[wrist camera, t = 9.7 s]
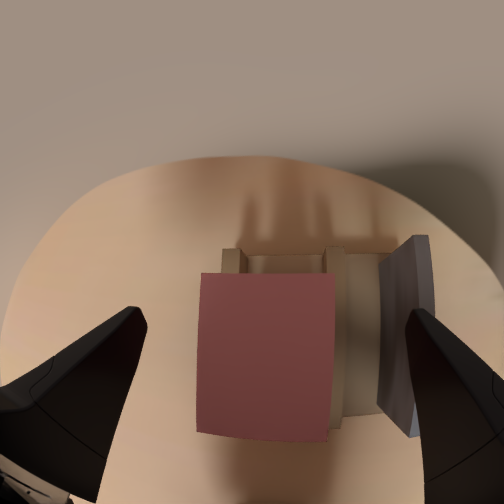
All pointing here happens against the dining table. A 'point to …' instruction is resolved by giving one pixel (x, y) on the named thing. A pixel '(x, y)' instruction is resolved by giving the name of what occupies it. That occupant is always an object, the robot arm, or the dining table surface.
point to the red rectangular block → (266, 355)
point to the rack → (364, 322)
